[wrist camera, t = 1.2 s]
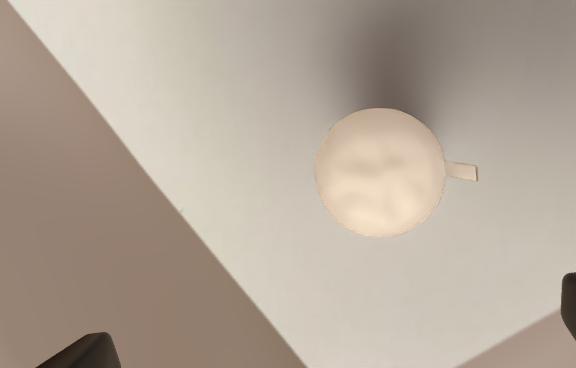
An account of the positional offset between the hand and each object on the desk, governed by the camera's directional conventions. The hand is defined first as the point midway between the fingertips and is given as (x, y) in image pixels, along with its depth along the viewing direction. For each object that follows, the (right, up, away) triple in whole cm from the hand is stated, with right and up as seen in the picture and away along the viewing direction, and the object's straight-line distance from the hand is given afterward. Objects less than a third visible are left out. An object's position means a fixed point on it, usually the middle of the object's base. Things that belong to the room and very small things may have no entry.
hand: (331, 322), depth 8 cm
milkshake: (+5, +4, +14) cm, 16 cm away
